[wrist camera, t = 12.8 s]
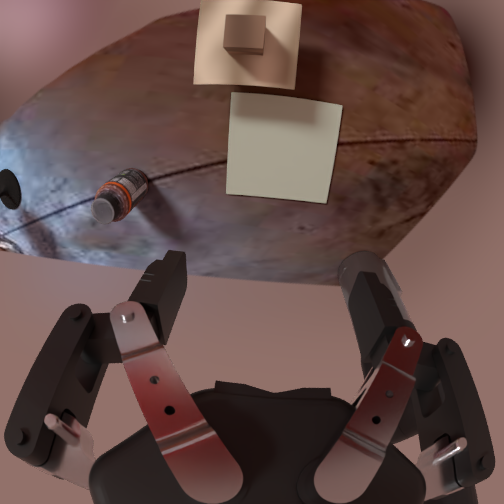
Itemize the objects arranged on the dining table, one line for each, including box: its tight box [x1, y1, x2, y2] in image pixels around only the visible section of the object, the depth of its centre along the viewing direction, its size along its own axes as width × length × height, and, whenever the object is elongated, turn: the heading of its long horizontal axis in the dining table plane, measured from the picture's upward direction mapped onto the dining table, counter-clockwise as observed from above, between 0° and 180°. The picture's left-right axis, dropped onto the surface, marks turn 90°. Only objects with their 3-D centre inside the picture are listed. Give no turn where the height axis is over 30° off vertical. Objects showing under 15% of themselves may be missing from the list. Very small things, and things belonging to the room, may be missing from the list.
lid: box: [194, 0, 302, 90], centre depth 22 cm, size 12×12×6 cm
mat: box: [226, 92, 342, 203], centre depth 38 cm, size 16×16×1 cm
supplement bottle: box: [91, 168, 148, 224], centre depth 37 cm, size 6×6×11 cm
